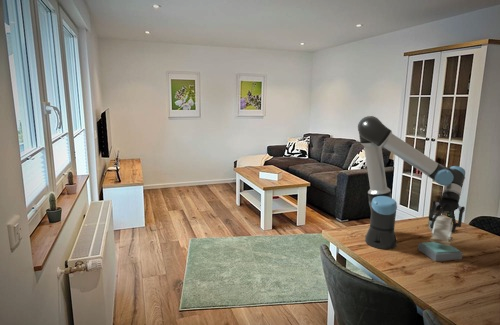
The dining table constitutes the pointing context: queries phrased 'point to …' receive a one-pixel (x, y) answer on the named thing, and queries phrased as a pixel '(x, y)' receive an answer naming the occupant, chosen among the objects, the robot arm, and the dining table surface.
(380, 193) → the robot arm
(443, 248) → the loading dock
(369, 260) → the dining table surface
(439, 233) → the pallet
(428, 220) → the ceramic mug
